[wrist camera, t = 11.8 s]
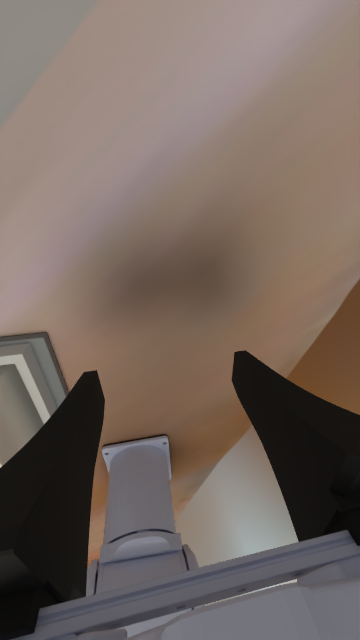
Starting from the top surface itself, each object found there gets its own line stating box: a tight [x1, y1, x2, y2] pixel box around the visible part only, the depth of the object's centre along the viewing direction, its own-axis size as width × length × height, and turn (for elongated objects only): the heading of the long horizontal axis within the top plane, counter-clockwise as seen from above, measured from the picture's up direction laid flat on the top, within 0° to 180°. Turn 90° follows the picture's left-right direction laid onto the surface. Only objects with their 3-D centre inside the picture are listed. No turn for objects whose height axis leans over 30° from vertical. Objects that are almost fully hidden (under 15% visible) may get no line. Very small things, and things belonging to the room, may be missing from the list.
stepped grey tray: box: [0, 332, 69, 424], centre depth 23 cm, size 18×9×2 cm, turn 2°
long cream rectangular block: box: [0, 364, 44, 468], centre depth 21 cm, size 14×3×6 cm, turn 2°
